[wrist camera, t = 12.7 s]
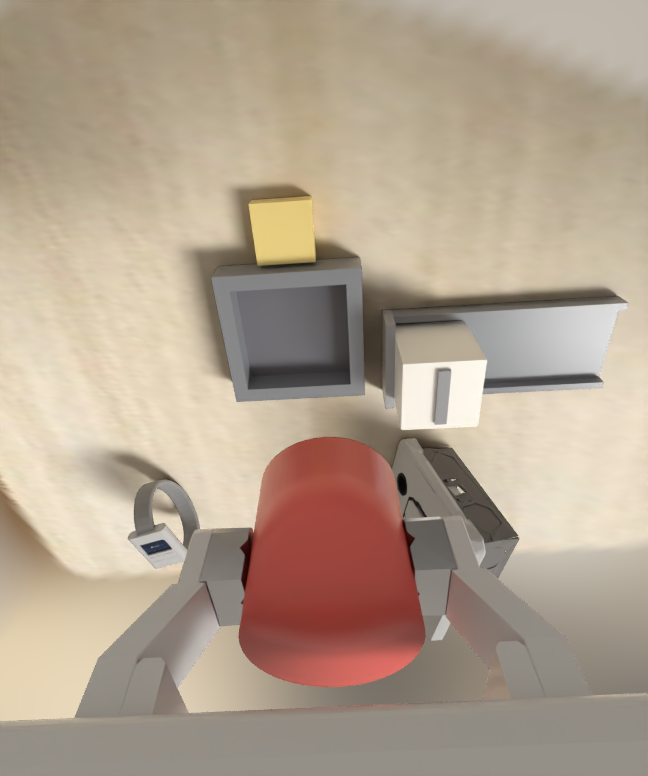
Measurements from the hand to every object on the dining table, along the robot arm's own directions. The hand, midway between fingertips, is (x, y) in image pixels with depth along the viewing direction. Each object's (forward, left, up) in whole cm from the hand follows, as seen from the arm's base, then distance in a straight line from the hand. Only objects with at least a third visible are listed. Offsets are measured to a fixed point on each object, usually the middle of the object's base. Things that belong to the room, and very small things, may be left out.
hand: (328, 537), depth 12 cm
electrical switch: (-6, +14, -16) cm, 22 cm away
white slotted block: (-6, +3, -16) cm, 17 cm away
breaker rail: (-10, +3, -16) cm, 19 cm away
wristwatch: (+12, +14, -16) cm, 25 cm away
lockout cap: (0, 0, -2) cm, 2 cm away
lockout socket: (+2, 0, -16) cm, 16 cm away
